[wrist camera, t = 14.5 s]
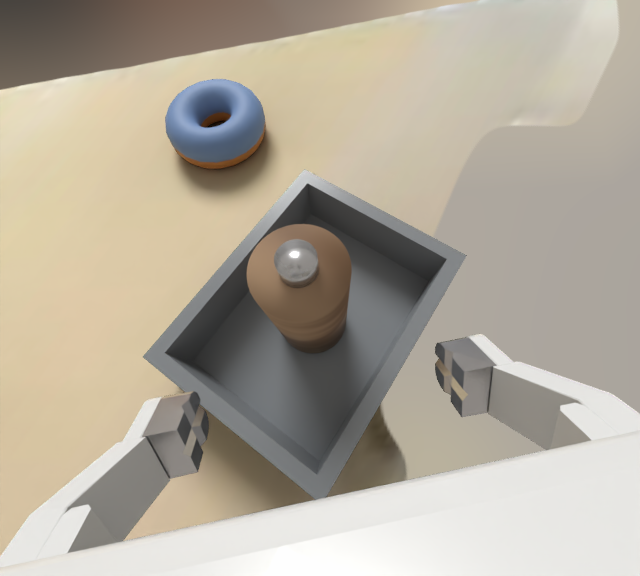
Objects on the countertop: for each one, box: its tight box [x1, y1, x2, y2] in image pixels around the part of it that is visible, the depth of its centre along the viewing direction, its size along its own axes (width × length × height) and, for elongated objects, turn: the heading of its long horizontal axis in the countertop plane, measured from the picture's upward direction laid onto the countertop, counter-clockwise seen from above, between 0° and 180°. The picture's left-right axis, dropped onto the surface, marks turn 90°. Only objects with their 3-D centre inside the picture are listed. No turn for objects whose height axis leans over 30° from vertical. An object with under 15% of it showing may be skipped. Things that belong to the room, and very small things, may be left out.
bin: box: [143, 169, 466, 500], centre depth 23 cm, size 18×14×5 cm
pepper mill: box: [247, 224, 352, 353], centre depth 19 cm, size 5×5×11 cm
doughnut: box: [165, 79, 265, 169], centre depth 31 cm, size 10×10×5 cm
